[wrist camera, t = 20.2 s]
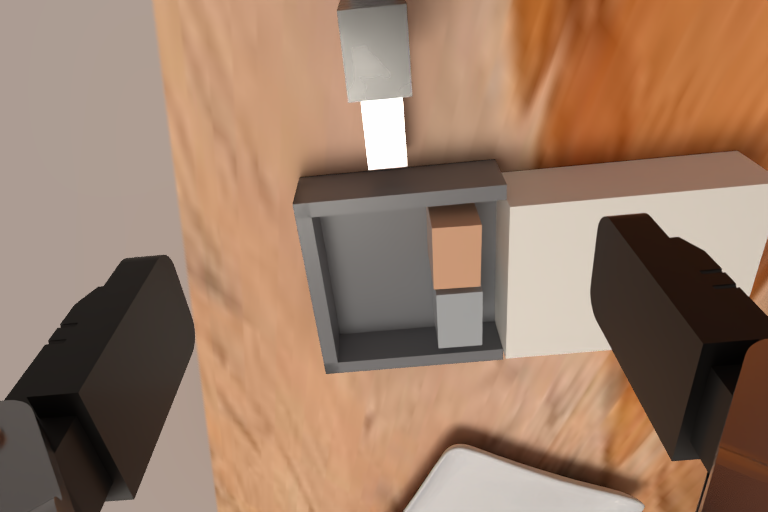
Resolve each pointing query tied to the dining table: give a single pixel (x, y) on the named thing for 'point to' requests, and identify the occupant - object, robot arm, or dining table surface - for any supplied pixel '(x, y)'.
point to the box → (390, 262)
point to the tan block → (454, 245)
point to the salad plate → (508, 488)
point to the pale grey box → (458, 316)
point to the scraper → (378, 74)
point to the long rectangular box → (579, 230)
